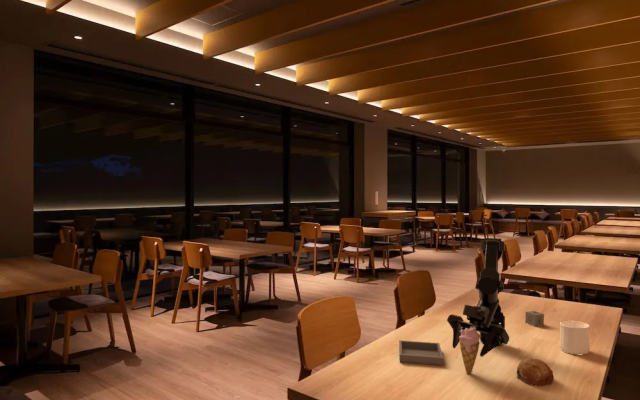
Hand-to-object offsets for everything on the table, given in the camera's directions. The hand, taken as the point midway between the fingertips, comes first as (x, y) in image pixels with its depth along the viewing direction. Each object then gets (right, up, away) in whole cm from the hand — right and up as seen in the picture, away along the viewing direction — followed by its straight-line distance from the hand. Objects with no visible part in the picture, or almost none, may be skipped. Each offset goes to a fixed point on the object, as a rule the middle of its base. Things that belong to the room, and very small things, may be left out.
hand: (466, 351), depth 133 cm
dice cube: (+47, -7, +53) cm, 71 cm away
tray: (-11, -7, +15) cm, 20 cm away
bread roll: (+20, -8, -2) cm, 22 cm away
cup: (+46, -8, +22) cm, 51 cm away
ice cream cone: (+1, -7, +1) cm, 8 cm away
